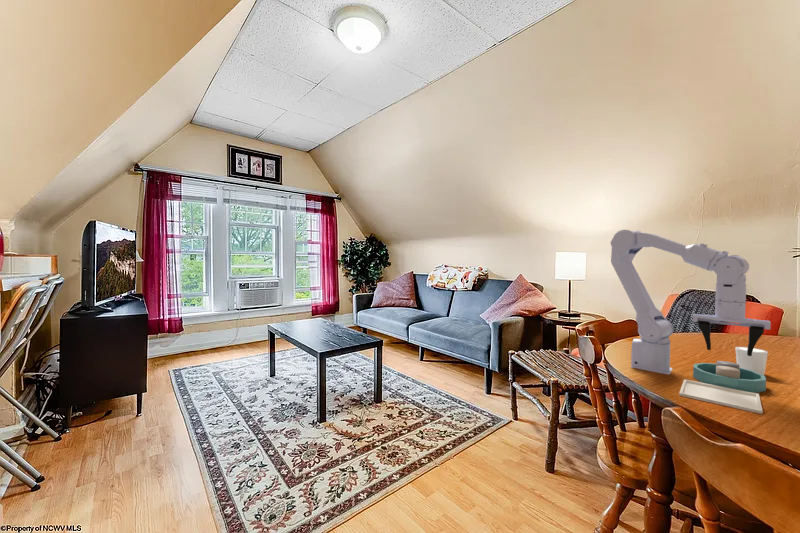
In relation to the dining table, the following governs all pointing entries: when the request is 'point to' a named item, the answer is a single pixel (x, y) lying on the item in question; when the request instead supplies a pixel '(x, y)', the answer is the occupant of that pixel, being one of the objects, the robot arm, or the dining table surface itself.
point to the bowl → (747, 380)
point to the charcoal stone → (727, 364)
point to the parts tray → (722, 396)
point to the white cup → (752, 359)
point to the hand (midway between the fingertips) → (728, 352)
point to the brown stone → (728, 372)
